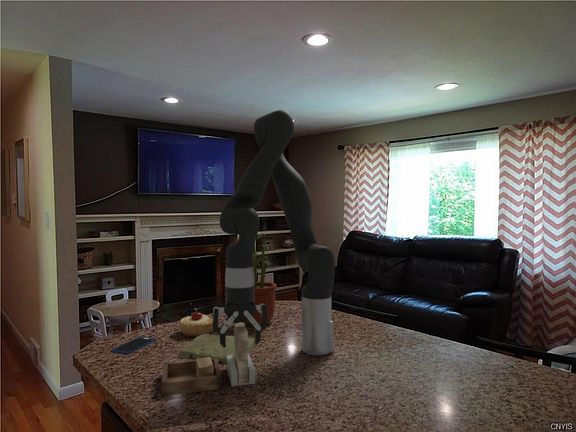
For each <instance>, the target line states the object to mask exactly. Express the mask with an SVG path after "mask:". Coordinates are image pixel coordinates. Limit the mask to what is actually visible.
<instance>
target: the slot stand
mask: <svg viewBox="0 0 576 432" xmlns="http://www.w3.org/2000/svg"><path fill="white" fill-rule="evenodd" d="M226 371H227V374H228V379H229V382H230V385H231V387H235V386H237V387H238V386H246V385H255V384H256V367H255V365H254V363H253V361H252V359H251V357H250V355H249V353H248V382H246V383H238V374H237V369H236V365H235V362H234V359H233V356H232V355H229V356H227V363H226Z"/></svg>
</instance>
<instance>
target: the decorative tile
mask: <svg viewBox="0 0 576 432" xmlns="http://www.w3.org/2000/svg"><path fill="white" fill-rule="evenodd" d="M257 346H258V344H255V342H254V337H248V354H249V353H250V352H251V350H252V349H253V348H254V347H255V348H256V347H257ZM229 355H232V356H233V359H234V362H235V358H234V335H226V347H225V348H223V346H221V344H220V334H216V335H215V334H210V333H209V334H202V335H200V336H198V337H194V338H193V339H192V340H191V341H190V342H188V344H186V345H185V346H183V347H182V349H180V350H179V354H178V358H179V359H180V358H181V359H183V358H184V359H185V358H187V359H189V358H193V359H195V360H196V359H198V358H205V357H210V358H217V359H218V363H220V362H221V364H222V363H225V364H227V356H229Z"/></svg>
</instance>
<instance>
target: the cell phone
mask: <svg viewBox="0 0 576 432" xmlns="http://www.w3.org/2000/svg"><path fill="white" fill-rule="evenodd" d="M156 341H157V339H156V338H153V337H152V338H151V337H144V336H138V337H136V338H134V339H132V340H129V341H127V342H125V343H123V344H120V345H119V346H116V347H114V348H112V349H110V353H115V354H121V355H130V354H131V355H132V354H133V353H134V352H137V351H138V350H141V349H142V348H145V347H146V346H148V345H150V344H152V343H154V342H156Z"/></svg>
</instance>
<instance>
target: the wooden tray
mask: <svg viewBox="0 0 576 432" xmlns="http://www.w3.org/2000/svg"><path fill="white" fill-rule="evenodd" d="M211 361H212V363H213V366H214V376H207V377H198V378H197V376H196V359H188V360H180V361H169V362H163V369H162V374H161V375H162V376H161V377H162V378H161V397H166V396H175V395H182V394H183V395H184V394H189V393H190V394H191V393H200V392H207V391H209V392H210V391H216V390H222V389H223V385H222V381H223V380H222V373H221V369H220V368H221V367H220V364H219V363H220V362H218V359H217V358H211Z"/></svg>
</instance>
